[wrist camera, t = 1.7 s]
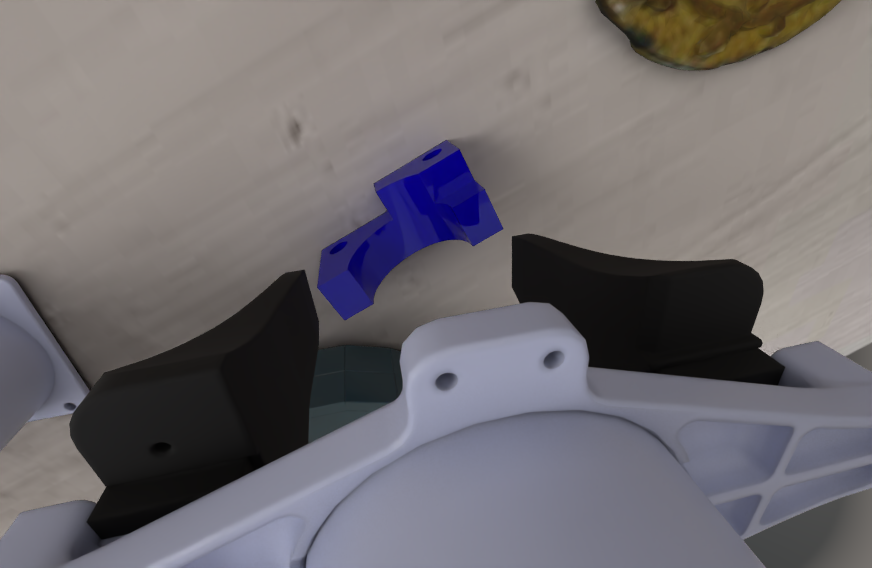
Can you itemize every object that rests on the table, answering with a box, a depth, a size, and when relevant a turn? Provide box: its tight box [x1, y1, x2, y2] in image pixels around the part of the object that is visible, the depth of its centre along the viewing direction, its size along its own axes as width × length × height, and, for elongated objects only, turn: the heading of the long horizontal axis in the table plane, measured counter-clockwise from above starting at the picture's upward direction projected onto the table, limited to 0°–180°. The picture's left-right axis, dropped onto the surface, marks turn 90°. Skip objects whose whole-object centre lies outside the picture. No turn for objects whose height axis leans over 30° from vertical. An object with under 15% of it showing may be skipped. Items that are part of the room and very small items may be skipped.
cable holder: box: [317, 140, 503, 320], centre depth 19 cm, size 8×4×4 cm, turn 119°
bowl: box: [308, 345, 403, 444], centre depth 25 cm, size 16×16×5 cm
